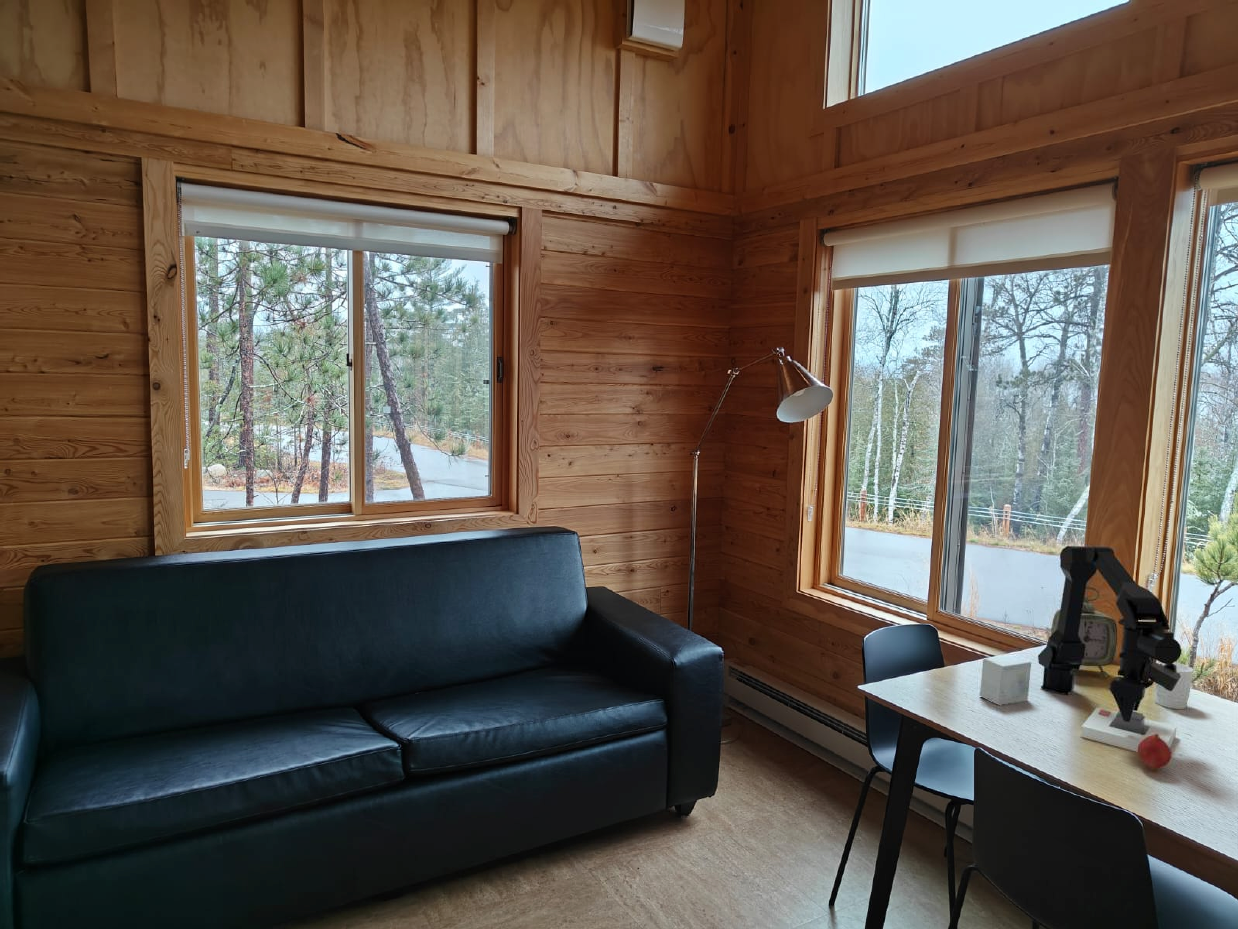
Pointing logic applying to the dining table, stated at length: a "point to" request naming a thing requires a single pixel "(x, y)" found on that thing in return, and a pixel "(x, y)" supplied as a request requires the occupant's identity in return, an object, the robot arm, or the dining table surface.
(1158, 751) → the onion
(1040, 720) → the dining table surface
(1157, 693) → the white cup
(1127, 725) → the plug
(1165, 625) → the robot arm
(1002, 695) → the skincare box
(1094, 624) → the tabletop clock
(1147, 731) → the socket plate
